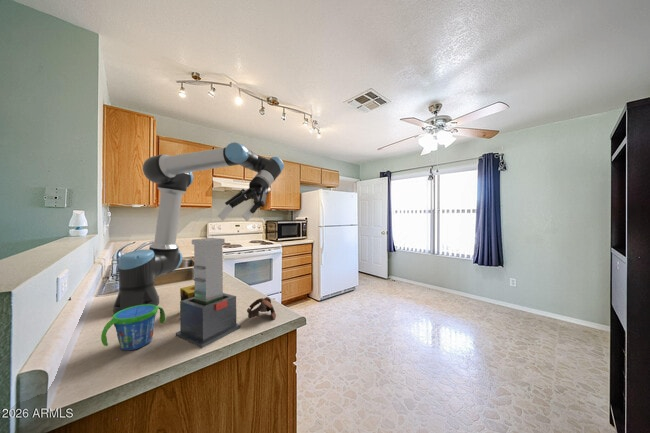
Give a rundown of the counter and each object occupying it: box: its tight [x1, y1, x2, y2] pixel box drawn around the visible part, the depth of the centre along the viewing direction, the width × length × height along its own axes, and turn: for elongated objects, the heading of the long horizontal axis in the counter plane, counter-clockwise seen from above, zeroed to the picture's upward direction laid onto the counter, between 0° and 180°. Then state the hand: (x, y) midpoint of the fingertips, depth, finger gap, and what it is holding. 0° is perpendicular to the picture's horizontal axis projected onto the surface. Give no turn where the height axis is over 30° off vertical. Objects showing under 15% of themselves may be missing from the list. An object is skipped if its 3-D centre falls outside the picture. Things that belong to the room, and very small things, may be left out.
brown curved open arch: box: [246, 296, 277, 321], centre depth 89 cm, size 12×10×8 cm
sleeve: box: [175, 292, 242, 349], centre depth 77 cm, size 14×14×11 cm
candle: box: [179, 284, 195, 301], centre depth 93 cm, size 10×10×10 cm
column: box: [191, 237, 226, 306], centre depth 77 cm, size 7×7×24 cm
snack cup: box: [100, 304, 166, 351], centre depth 70 cm, size 16×10×10 cm
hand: (232, 218), depth 88 cm, fingers open, 13 cm apart
